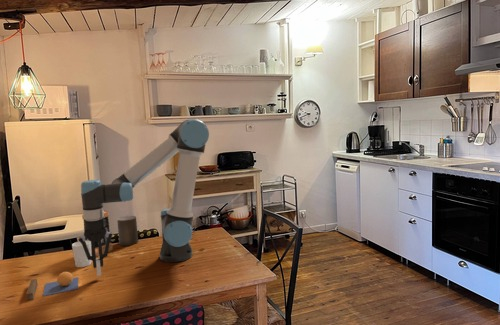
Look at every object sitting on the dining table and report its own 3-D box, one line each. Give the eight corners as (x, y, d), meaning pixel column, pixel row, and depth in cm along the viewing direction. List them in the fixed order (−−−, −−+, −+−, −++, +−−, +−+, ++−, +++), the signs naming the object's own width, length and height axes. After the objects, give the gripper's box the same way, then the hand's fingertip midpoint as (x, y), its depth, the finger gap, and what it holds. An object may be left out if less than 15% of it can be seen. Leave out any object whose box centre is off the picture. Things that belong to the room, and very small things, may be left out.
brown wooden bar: (37, 284, 148) (36, 278, 148) (33, 299, 135) (32, 292, 135) (31, 285, 147) (31, 279, 147) (27, 300, 135) (26, 294, 134)
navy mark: (78, 277, 153) (78, 277, 153) (78, 289, 142) (77, 288, 142) (45, 283, 148) (45, 283, 148) (42, 296, 138) (42, 295, 137)
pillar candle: (141, 242, 196) (139, 214, 194) (124, 247, 189) (122, 218, 187) (132, 238, 202) (130, 212, 201) (115, 243, 195) (113, 216, 194)
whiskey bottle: (114, 250, 185) (108, 187, 181) (97, 257, 176) (90, 191, 173) (100, 247, 190) (95, 186, 186) (83, 253, 182) (77, 190, 178)
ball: (66, 285, 149) (75, 274, 150) (66, 291, 144) (75, 279, 145) (54, 278, 147) (64, 267, 148) (53, 284, 142) (63, 272, 143)
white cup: (85, 268, 163) (83, 246, 162) (70, 267, 165) (68, 246, 163) (96, 261, 171) (94, 240, 170) (81, 260, 172) (79, 240, 171)
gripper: (110, 214, 154) (115, 268, 157) (76, 218, 149) (81, 274, 152) (111, 218, 147) (116, 274, 150) (76, 223, 142) (81, 281, 145)
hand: (99, 274), depth 151 cm, fingers closed
